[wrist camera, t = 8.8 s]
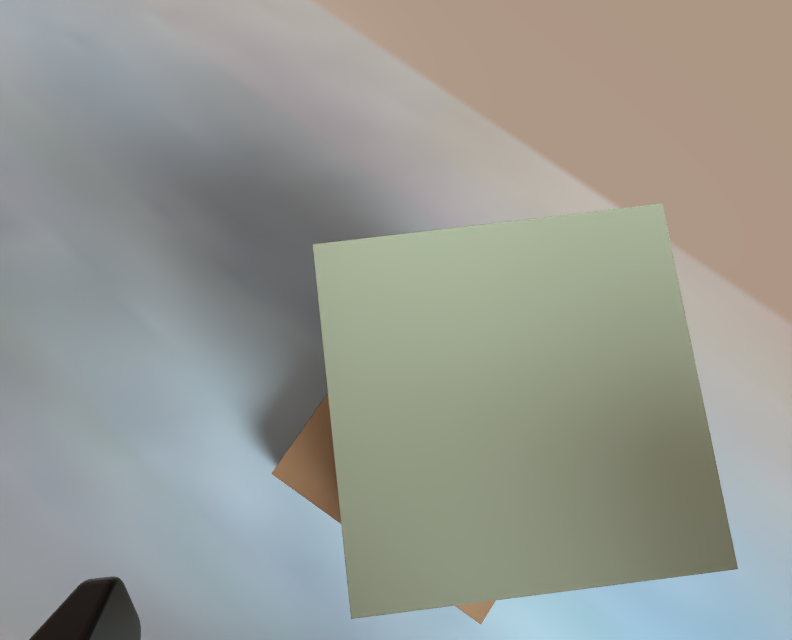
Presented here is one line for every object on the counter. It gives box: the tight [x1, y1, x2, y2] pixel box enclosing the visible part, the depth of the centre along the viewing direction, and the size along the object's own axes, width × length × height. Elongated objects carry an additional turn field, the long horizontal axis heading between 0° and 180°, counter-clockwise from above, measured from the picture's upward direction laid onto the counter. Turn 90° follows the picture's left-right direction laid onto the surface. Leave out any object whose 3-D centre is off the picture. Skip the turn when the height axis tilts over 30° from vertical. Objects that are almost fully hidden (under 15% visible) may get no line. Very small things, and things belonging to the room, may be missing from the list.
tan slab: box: [271, 394, 496, 624], centre depth 22 cm, size 7×7×2 cm
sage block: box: [313, 204, 738, 619], centre depth 15 cm, size 5×5×11 cm
